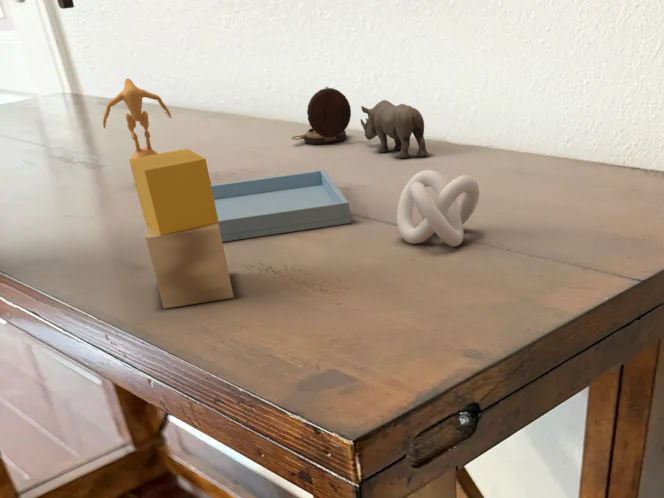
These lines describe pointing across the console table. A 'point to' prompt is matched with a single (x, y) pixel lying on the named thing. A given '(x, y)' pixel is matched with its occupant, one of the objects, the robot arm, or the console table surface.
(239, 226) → the tray
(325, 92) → the compass
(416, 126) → the rhino figurine
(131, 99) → the figurine
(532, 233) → the console table surface
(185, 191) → the top block
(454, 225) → the knot
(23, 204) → the console table surface
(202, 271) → the base block
